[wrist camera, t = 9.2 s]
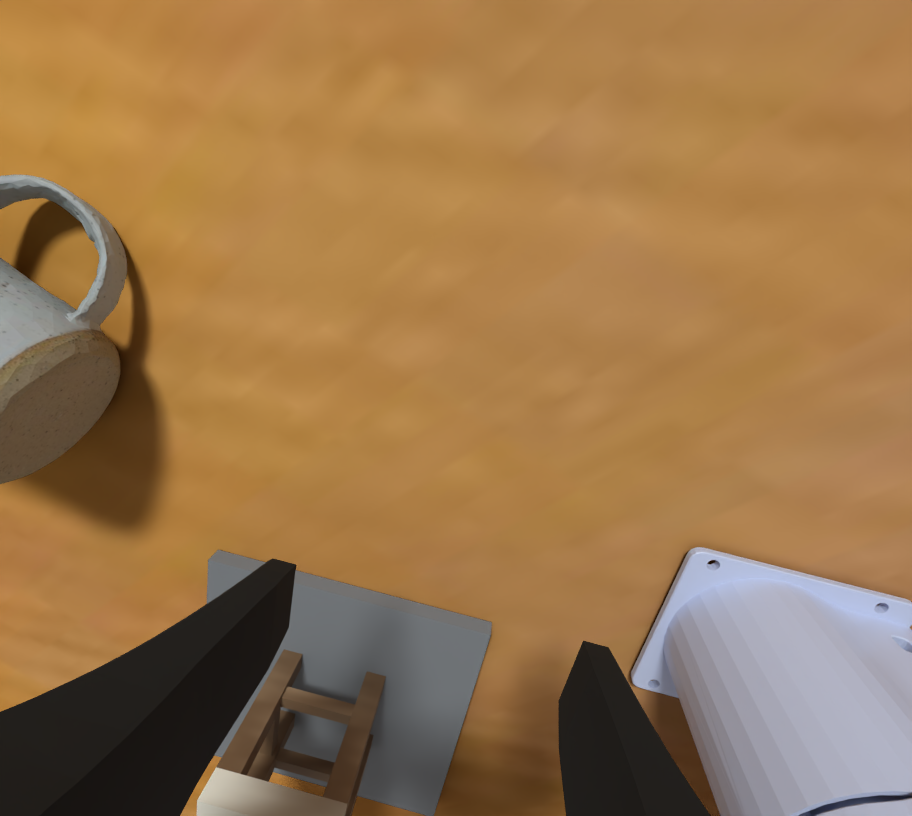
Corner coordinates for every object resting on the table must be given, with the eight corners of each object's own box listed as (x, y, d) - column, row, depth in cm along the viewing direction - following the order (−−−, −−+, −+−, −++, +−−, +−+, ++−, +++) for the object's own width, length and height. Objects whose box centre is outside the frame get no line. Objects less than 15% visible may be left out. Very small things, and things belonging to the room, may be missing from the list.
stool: (385, 676, 24) (336, 840, 17) (371, 747, 26) (321, 919, 19) (283, 649, 24) (197, 800, 18) (276, 721, 26) (195, 882, 20)
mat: (491, 622, 23) (490, 635, 22) (435, 801, 28) (433, 817, 27) (218, 549, 24) (208, 559, 23) (210, 738, 28) (201, 751, 28)
